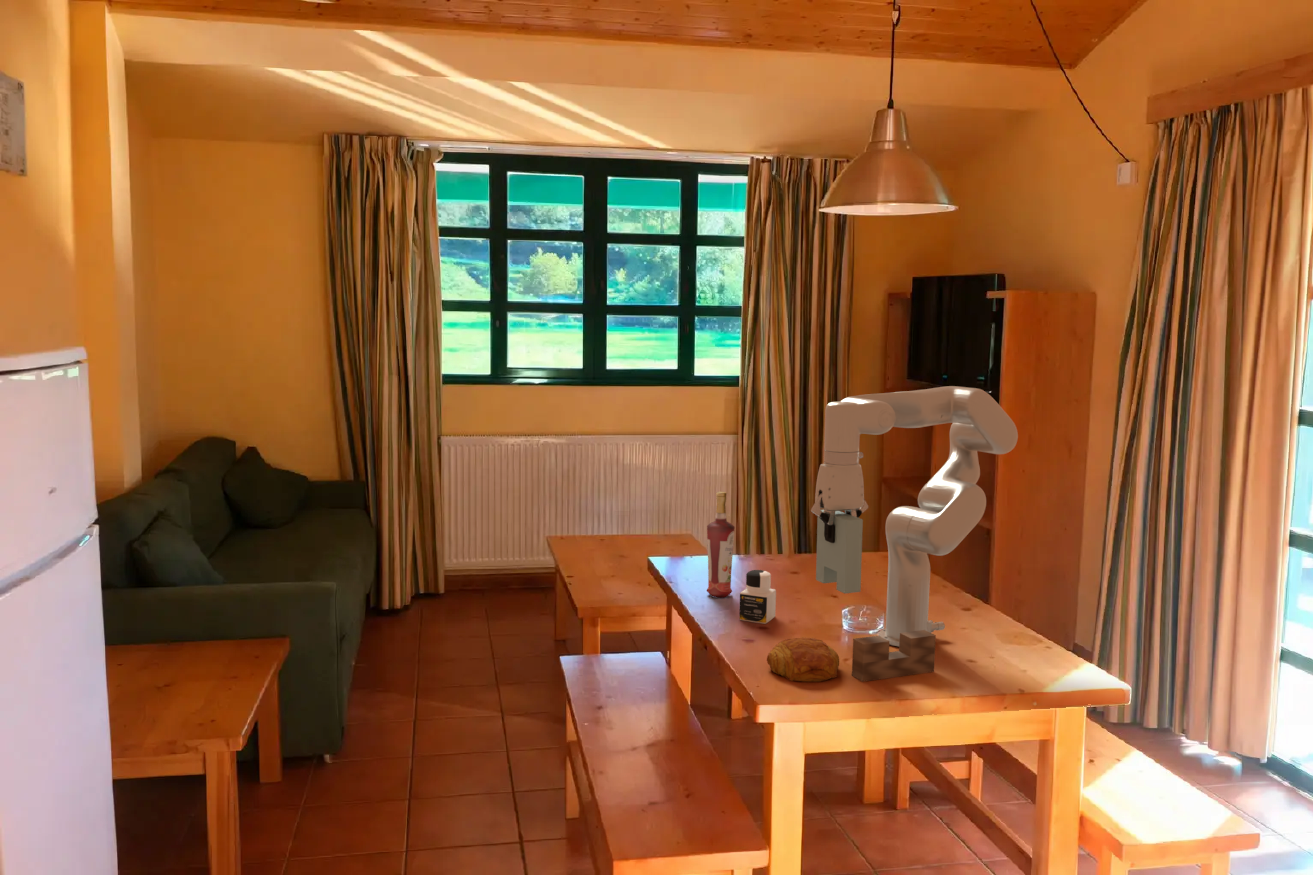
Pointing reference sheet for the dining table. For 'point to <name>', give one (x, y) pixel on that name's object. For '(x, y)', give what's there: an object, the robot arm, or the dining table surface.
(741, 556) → the dining table surface
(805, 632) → the dining table surface
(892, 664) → the mottled brown block
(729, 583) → the liquor
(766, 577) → the medicine bottle
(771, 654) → the croissant
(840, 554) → the plain rectangular block
